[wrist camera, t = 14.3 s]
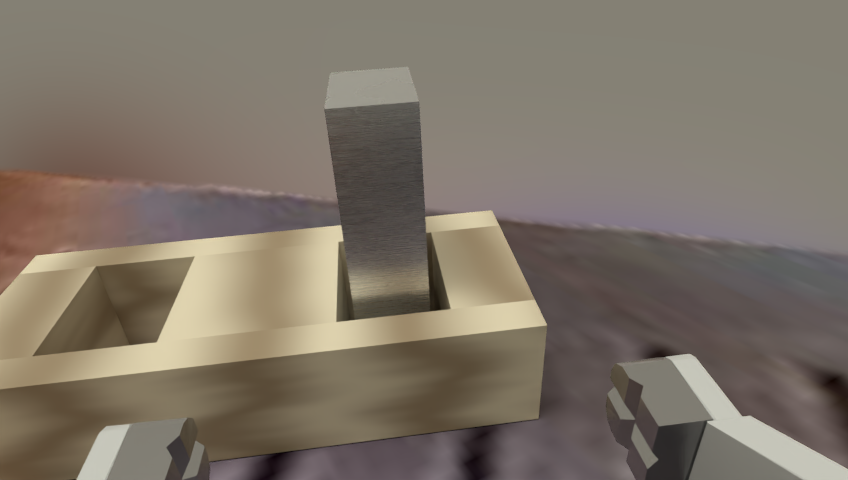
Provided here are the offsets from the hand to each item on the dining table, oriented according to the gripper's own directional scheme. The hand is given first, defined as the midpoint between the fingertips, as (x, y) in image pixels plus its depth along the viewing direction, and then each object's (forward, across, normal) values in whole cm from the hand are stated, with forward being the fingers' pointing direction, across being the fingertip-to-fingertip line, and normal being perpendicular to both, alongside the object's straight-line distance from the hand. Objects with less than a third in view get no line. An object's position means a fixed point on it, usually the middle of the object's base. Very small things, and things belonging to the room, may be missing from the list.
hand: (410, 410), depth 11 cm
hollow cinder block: (+12, +6, +10) cm, 16 cm away
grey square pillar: (+12, 0, +10) cm, 15 cm away
